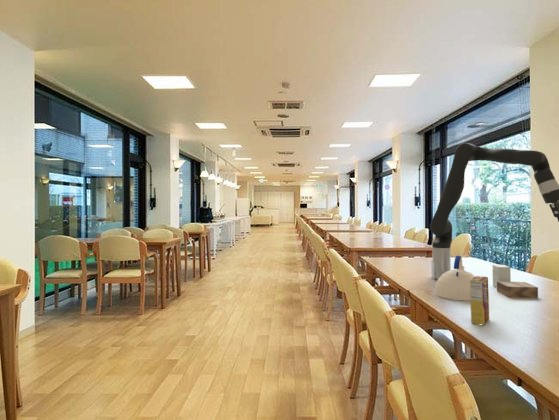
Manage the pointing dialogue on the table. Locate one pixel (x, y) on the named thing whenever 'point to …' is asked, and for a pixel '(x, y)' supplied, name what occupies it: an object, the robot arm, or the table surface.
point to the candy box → (479, 300)
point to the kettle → (455, 283)
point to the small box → (501, 274)
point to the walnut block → (517, 289)
